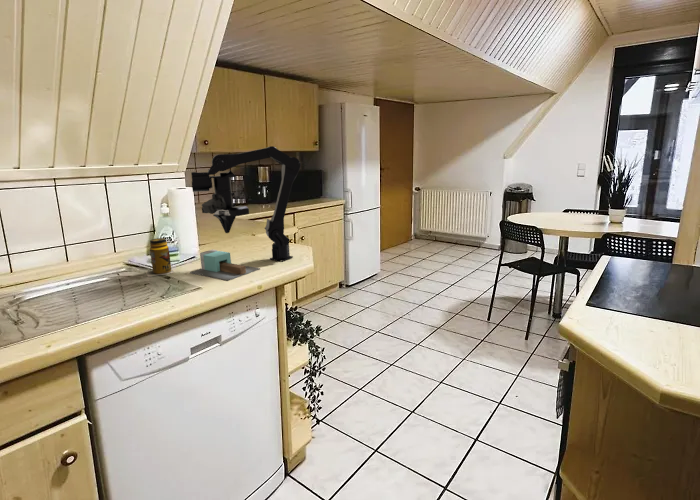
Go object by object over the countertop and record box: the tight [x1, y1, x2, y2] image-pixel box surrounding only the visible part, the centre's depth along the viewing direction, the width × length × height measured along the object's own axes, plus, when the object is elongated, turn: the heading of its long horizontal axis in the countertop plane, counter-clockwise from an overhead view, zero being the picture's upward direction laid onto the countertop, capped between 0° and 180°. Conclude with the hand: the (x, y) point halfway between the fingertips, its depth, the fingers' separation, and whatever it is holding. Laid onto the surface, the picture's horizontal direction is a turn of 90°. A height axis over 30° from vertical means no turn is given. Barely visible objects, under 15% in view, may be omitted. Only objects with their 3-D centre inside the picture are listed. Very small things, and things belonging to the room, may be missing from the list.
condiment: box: [144, 237, 175, 278], centre depth 141 cm, size 7×8×12 cm
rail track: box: [189, 249, 261, 282], centre depth 142 cm, size 15×19×6 cm
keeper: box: [203, 250, 232, 272], centre depth 143 cm, size 7×6×5 cm
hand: (227, 233), depth 148 cm, fingers closed
